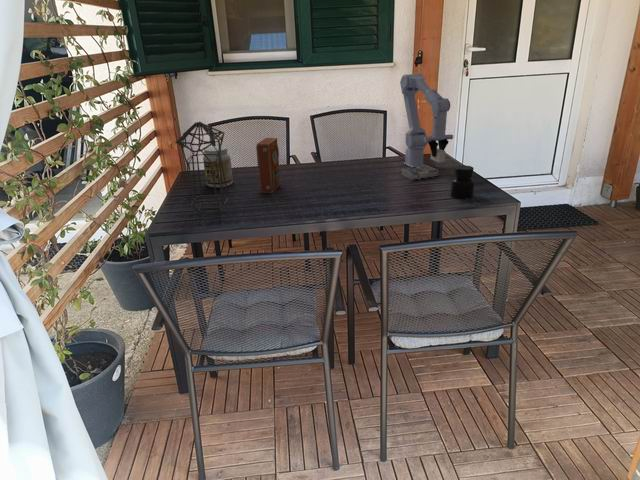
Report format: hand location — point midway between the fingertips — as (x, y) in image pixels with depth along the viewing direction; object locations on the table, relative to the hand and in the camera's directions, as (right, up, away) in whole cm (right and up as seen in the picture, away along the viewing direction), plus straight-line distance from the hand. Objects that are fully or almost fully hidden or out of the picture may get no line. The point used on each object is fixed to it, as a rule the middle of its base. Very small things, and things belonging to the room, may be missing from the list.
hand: (437, 156), depth 214 cm
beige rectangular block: (0, -2, 0) cm, 2 cm away
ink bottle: (+3, -22, -28) cm, 35 cm away
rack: (-8, -9, +1) cm, 12 cm away
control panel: (-77, -17, -10) cm, 79 cm away
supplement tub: (-101, -14, -1) cm, 102 cm away
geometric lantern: (-97, -29, -37) cm, 108 cm away
